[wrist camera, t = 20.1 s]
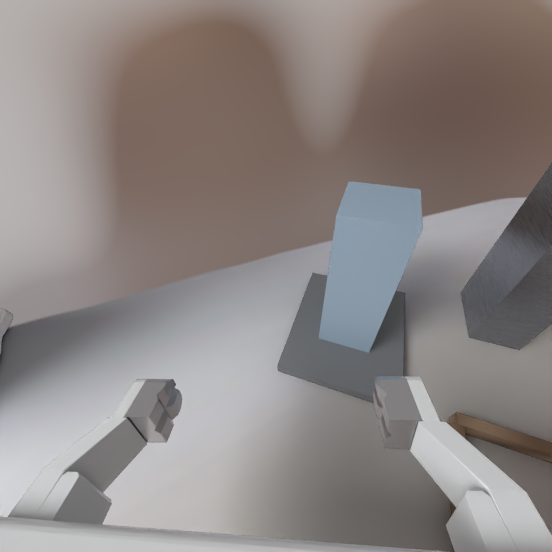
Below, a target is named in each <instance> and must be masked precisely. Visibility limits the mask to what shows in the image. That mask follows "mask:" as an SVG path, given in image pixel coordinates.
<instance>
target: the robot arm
mask: <svg viewBox="0 0 552 552" xmlns="http://www.w3.org/2000/svg"><path fill="white" fill-rule="evenodd" d="M12 320H13V314H11V313H10V312H8V311H6V310H5V309H2V308H0V354H1V342H2V337H3V335H4V333H5V332H6V330H7V329H8V327H9V325H10V323H11V322H12ZM374 383H375V387H376V389H374V393H373V399H374V407H375V412H376V416H377V417H378V418H379V419H380V420H381V422H380V432H381V436H382V440H383V444H384V448H389V449H407V450H410V452H411V453H412V454H413V455H414V456H415V458H416V459H417V460H418V461H419V463H420V464H421V465H422V466H423V467H424V469H425V470H426V471H427V472H428V474H429V475H430V476H431V477H432V478H433V480H434V481H435V482H436V483H437V485H438V486H439V487H440V488H441V489H442V491H443V492H444V493H445V494H446V496H447V497H448V498H449V499H450V501H451V502H452V503H453V504H454V505H455V507H456V509H455V511H454V513H453V514H452V516H451V518H450V519H449V521H448V523H447V524H446V527H447V530H448V533H449V536H450V539H451V542H452V545H453V548H454V551H455V552H552V535H551V533H550V532H549V530H548V528H547V526H546V525H545V523H544V521H543V520H542V518H541V516H540V515H539V513H538V511H537V510H536V508H535V506H534V504H533V503H532V501H531V499H530V498H529V496H528V494H527V493H526V491H524V490H523V489H522V488H521V487H520V486H519V485H518V484H516V483H515V482H514V481H513V480H512V479H511V478H510V477H508V476H507V475H506V474H505V473H504V472H503V471H502V470H500V469H499V468H498V467H497V466H496V465H495V464H494V463H492V462H491V461H490V460H489V459H488V458H487V457H486V456H484V455H483V454H482V453H481V452H480V451H479V450H478V449H476V448H475V447H474V446H473V445H472V444H471V443H470V442H468V441H467V440H466V439H465V438H464V437H463V436H462V435H460V434H459V433H458V432H457V431H456V430H455V429H454V428H452V427H451V426H450V425H449V424H448V423H447V422H443V421H441V420H440V418H439V416H438V414H437V412H436V410H435V407H434V405H433V403H432V401H431V399H430V396H429V394H428V392H427V390H426V388H425V385H424V383H423V381H422V379H421V378H420V377H419V376H405V377H404V376H385V377H376V378H375V382H374ZM175 385H176V384H175V382H174V380H173V379H137V380H136V381H135V382H134V383H133V384H132V386H131V387H130V389H129V390H128V392H127V394H126V395H125V397H124V398H123V400H122V402H121V403H120V405H119V406H118V408H117V409H116V411H115V413H114V414H113V416H112V417H108V418H107V419H106V420H104V421H103V422H102V423H101V424H99V425H98V426H97V427H95V428H94V429H93V430H92V431H90V432H89V433H88V434H87V435H85V436H84V437H83V438H81V439H80V440H79V441H78V442H76V443H75V444H74V445H73V446H71V447H70V448H69V449H67V450H66V451H65V452H64V453H62V454H61V455H60V456H59V457H57V458H56V459H55V460H54V461H52V462H51V463H50V464H48V465H47V466H46V467H45V468H43V469H42V471H41V472H40V473H39V475H38V476H37V477H36V479H35V480H34V482H33V483H32V484H31V486H30V487H29V488H28V490H27V491H26V493H25V494H24V495H23V497H22V498H21V499H20V501H19V502H18V503H17V505H16V506H15V508H14V509H13V510H12V512H11V513H10V514H9V516H8V517H1V516H0V552H448V551H436V550H423V549H410V548H397V547H384V546H372V545H359V544H346V543H333V542H320V541H308V540H295V539H282V538H269V537H256V536H244V535H231V534H218V533H205V532H192V531H180V530H167V529H154V528H141V527H129V526H116V525H103V524H102V523H103V521H104V519H105V517H106V515H107V513H108V511H109V508H110V506H111V504H112V503H111V499H110V498H108V497H107V496H106V495H105V494H104V493H103V492H104V491H105V490H106V489H107V488H108V486H109V485H110V484H111V483H112V482H113V481H114V480H115V479H116V478H117V477H118V475H119V474H120V473H121V472H122V471H123V470H124V469H125V468H126V467H127V465H128V464H129V463H130V462H131V461H132V460H133V459H134V458H135V457H136V456H137V454H138V453H139V452H140V451H141V450H142V449H143V448H144V447H145V446H146V445H147V443H156V442H167V441H168V438H169V436H170V433H171V431H172V428H173V426H174V424H173V419H174V418H175V417H176V416H177V415H178V414H179V411H180V409H181V404H182V395H181V393H180V391H179V390H177V389H176V388H174V387H175Z"/></svg>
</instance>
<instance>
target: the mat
mask: <svg viewBox="0 0 552 552" xmlns="http://www.w3.org/2000/svg"><path fill="white" fill-rule="evenodd" d="M326 283H327V276H325V275H320V274H316V273H312V276H311V278H310V281H309V284H308V286H307V289H306V292H305V294H304V297H303V300H302V302H301V305H300V308H299V310H298V313H297V315H296V318H295V321H294V323H293V326H292V329H291V331H290V334H289V337H288V339H287V342H286V345H285V347H284V350H283V353H282V355H281V358H280V360H279V363H278V371H280V372H283V373H286V374H289V375H292V376H295V377H298V378H301V379H304V380H307V381H310V382H313V383H316V384H319V385H322V386H325V387H328V388H331V389H334V390H337V391H340V392H343V393H346V394H349V395H352V396H354V397H357V398H360V399H363V400H366V401H369V402H372V403H374V399H373V393H374V389H376V387H375V383H374V382H375V378H376V377H385V376H403V358H404V308H405V293H402V292H398V291H395V294H394V296H393V298H392V301H391V303H390V305H389V307H388V310H387V312H386V314H385V317H384V319H383V321H382V324H381V326H380V328H379V331H378V333H377V335H376V338H375V340H374V342H373V345H372V347H371V349H370V351H369V353H368V352H364V351H361V350H357V349H354V348H350V347H347V346H344V345H340V344H337V343H333V342H330V341H326V340H323V339H319V331H320V325H321V318H322V311H323V304H324V297H325V290H326Z"/></svg>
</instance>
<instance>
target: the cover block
mask: <svg viewBox="0 0 552 552" xmlns="http://www.w3.org/2000/svg"><path fill="white" fill-rule="evenodd" d="M422 229H423V223H422V207H421V190H420V189H411V188H403V187H395V186H386V185H377V184H368V183H360V182H352V181H349V182H348V185H347V188H346V190H345V193H344V196H343V199H342V201H341V204H340V207H339V210H338V212H337V215H336V222H335V229H334V235H333V242H332V249H331V256H330V263H329V270H328V276H327V283H326V290H325V297H324V304H323V311H322V318H321V325H320V331H319V339H323V340H326V341H330V342H333V343H337V344H340V345H344V346H347V347H350V348H354V349H357V350H361V351H364V352H368V353H369V351H370V349H371V347H372V345H373V342H374V340H375V338H376V335H377V333H378V331H379V328H380V326H381V324H382V321H383V319H384V317H385V314H386V312H387V310H388V307H389V305H390V303H391V301H392V298H393V296H394V294H395V291H396V289H397V287H398V284H399V282H400V280H401V277H402V275H403V273H404V270H405V268H406V266H407V264H408V261H409V259H410V257H411V254H412V252H413V250H414V247H415V245H416V243H417V240H418V238H419V236H420V233H421V231H422Z"/></svg>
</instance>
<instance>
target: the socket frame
mask: <svg viewBox="0 0 552 552" xmlns="http://www.w3.org/2000/svg"><path fill="white" fill-rule="evenodd" d="M449 420H450V423H449V425H450V426H451V427H452V428H454V429H455V430H456V431H457V432H458V433H459V434H460V435H462V436H463V437H464V438H465V439H466V436H465V434H468V435H471V436H474V437H477V438H479V439H482V440H485V441H488V442H491V443H494V444H497V445H500V446H503V447H506V448H509V449H512V450H515V451H518V452H521V453H524V454H527V455H530V456H533V457H536V458H539V459H542V460H545V461H548V462H551V463H552V443H551V442H548V441H545V440H542V439H539V438H536V437H532V436H529V435H526V434H523V433H520V432H517V431H514V430H510V429H507V428H504V427H501V426H498V425H495V424H492V423H489V422H485V421H482V420H479V419H476V418H473V417H470V416H467V415H463V414H460V413H457V412H456V413H455V414H453V415H452V416H451V417H449ZM450 502H451V501H450ZM455 509H456V507H455V505H454V504H453V503H452V502H451V514H453V513H454V511H455Z"/></svg>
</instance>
